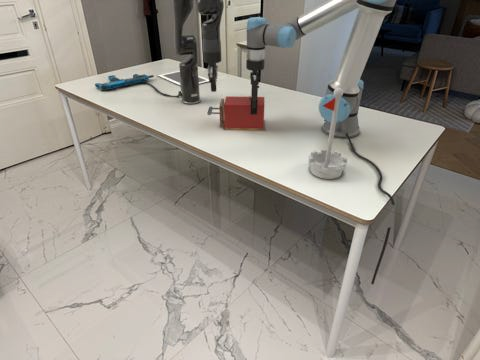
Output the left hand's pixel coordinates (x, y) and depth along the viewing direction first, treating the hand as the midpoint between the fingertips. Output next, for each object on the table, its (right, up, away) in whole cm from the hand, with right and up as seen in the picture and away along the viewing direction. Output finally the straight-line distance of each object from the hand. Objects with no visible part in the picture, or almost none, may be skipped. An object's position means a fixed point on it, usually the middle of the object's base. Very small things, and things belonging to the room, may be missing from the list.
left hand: (213, 91), depth 148 cm
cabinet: (+13, -13, +8) cm, 21 cm away
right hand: (+18, -7, +3) cm, 19 cm away
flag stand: (+42, -36, -26) cm, 61 cm away
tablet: (-24, +26, +68) cm, 77 cm away
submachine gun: (-60, +21, +61) cm, 88 cm away
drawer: (+8, -12, +8) cm, 17 cm away
